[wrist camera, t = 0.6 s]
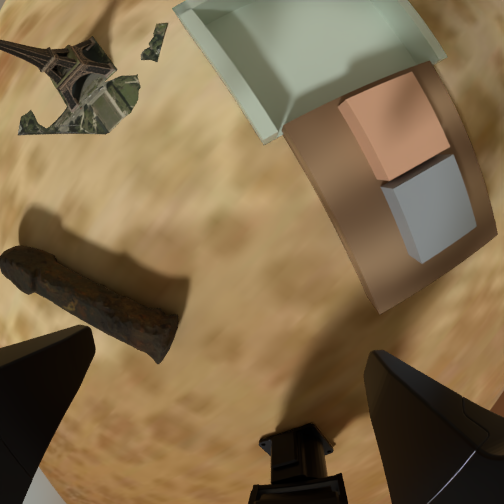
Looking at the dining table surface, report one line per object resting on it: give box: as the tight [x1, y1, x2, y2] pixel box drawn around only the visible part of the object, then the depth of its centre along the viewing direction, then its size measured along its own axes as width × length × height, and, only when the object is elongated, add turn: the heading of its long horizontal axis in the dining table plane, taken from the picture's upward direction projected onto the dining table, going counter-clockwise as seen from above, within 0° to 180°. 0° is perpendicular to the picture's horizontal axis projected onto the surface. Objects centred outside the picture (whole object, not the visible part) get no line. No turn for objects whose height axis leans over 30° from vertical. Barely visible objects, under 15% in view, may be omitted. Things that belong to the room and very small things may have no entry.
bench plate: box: [281, 60, 498, 314], centre depth 18 cm, size 14×12×3 cm
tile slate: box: [381, 154, 477, 264], centre depth 15 cm, size 5×5×2 cm
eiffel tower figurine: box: [0, 23, 168, 135], centre depth 12 cm, size 15×10×13 cm
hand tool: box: [0, 246, 178, 364], centre depth 21 cm, size 19×4×5 cm, turn 66°
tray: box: [172, 0, 447, 145], centre depth 15 cm, size 12×15×4 cm
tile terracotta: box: [338, 72, 450, 181], centre depth 14 cm, size 5×5×2 cm
